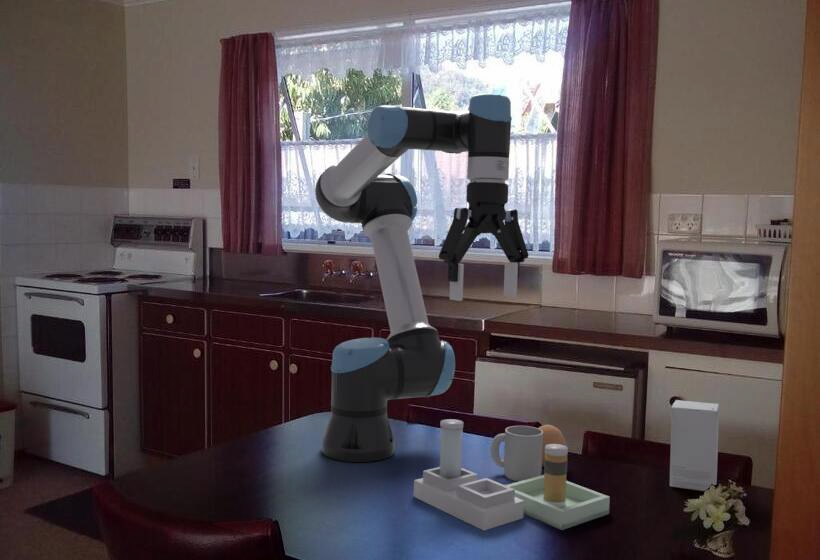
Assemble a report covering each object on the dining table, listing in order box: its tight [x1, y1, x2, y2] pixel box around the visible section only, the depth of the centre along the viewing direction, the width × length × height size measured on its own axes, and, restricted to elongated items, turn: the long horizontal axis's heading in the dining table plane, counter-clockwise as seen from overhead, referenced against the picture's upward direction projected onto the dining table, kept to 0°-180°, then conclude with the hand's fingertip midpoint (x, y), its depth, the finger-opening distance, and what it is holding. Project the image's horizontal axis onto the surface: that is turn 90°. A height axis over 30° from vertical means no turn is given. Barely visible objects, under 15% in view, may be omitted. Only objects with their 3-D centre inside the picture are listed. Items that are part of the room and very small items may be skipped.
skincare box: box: [669, 399, 720, 492], centre depth 147 cm, size 8×7×16 cm
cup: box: [490, 425, 543, 482], centre depth 150 cm, size 7×10×9 cm
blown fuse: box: [543, 444, 569, 508], centre depth 133 cm, size 4×4×10 cm
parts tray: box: [504, 474, 611, 531], centre depth 134 cm, size 14×12×3 cm
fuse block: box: [413, 418, 524, 532], centre depth 133 cm, size 18×9×14 cm, turn 38°
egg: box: [538, 424, 567, 468], centre depth 156 cm, size 7×7×8 cm
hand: (483, 298), depth 143 cm, fingers open, 13 cm apart
